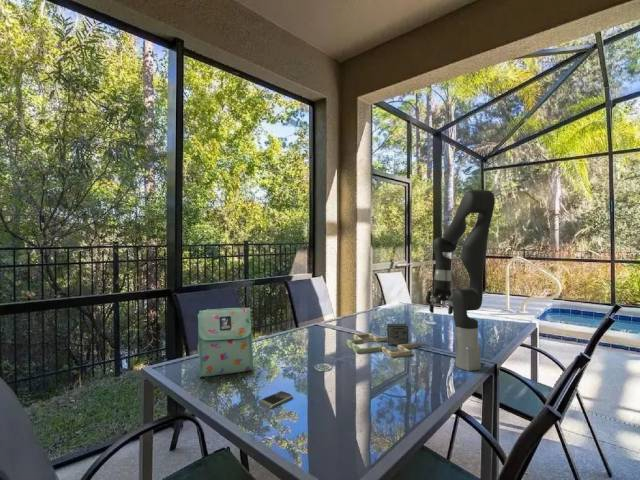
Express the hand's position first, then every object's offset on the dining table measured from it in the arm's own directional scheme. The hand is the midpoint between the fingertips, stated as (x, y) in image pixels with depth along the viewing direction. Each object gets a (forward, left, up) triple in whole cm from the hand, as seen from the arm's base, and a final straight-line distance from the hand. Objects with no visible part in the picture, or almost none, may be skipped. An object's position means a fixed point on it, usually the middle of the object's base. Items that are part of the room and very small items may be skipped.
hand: (440, 313), depth 164 cm
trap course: (+23, +21, -20) cm, 37 cm away
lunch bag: (+11, +99, -20) cm, 102 cm away
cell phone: (-25, +82, -21) cm, 88 cm away
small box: (+23, +11, -20) cm, 33 cm away
